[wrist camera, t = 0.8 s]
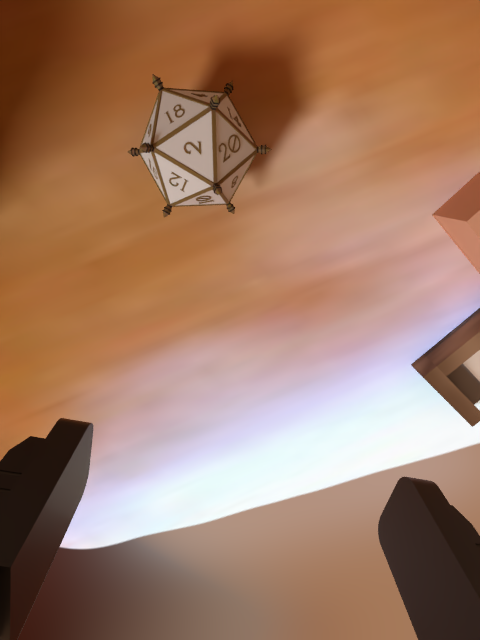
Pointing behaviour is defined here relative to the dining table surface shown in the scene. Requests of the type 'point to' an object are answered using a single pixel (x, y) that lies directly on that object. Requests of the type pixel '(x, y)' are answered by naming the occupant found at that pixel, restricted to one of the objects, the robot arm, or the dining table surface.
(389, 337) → the dining table surface
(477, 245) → the block
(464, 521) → the robot arm
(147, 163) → the game die
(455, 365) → the tray
